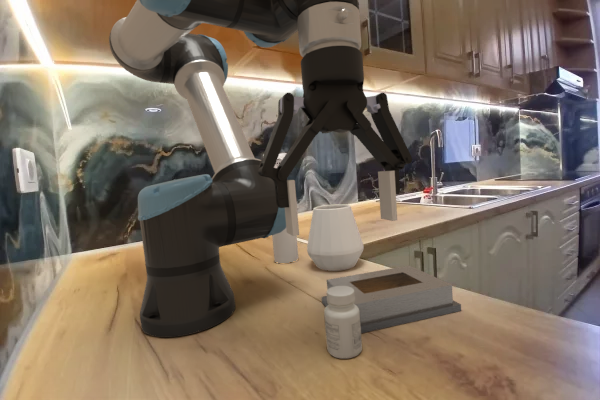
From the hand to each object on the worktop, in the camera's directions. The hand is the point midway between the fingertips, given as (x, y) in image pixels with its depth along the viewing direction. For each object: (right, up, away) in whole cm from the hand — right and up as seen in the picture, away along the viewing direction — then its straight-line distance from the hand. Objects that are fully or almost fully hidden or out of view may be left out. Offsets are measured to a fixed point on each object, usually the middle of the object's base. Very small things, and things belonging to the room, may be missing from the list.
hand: (343, 226), depth 41 cm
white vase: (+3, -12, +35) cm, 37 cm away
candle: (-9, -13, +42) cm, 45 cm away
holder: (+8, -14, +11) cm, 19 cm away
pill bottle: (0, -16, 0) cm, 16 cm away
